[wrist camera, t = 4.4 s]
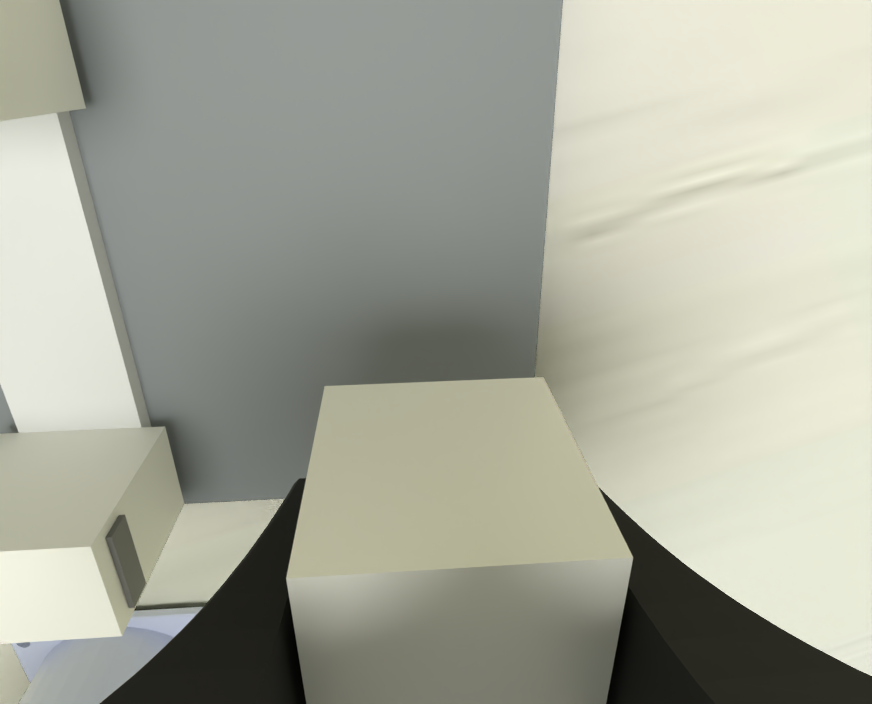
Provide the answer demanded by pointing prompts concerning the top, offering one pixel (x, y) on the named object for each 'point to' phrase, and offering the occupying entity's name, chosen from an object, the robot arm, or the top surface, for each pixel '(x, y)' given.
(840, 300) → the top surface
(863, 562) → the top surface
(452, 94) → the rail panel
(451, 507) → the block
